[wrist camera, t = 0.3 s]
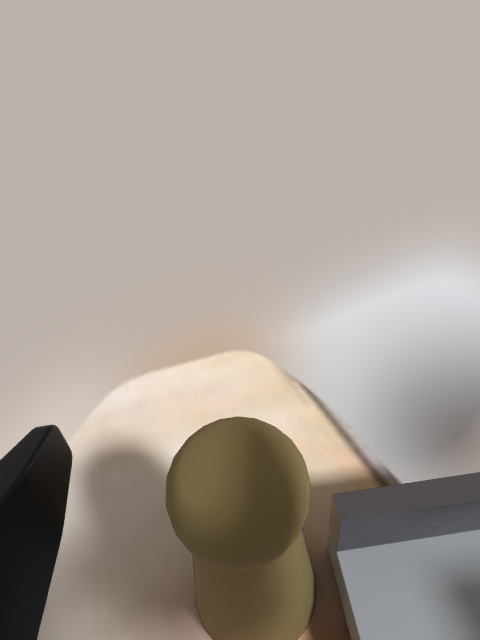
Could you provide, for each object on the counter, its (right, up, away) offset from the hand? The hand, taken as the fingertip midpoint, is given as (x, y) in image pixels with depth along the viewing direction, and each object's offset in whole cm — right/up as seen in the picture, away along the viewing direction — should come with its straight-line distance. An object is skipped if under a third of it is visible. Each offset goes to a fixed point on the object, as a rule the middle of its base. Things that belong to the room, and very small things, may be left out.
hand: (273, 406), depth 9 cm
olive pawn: (0, -12, +13) cm, 17 cm away
